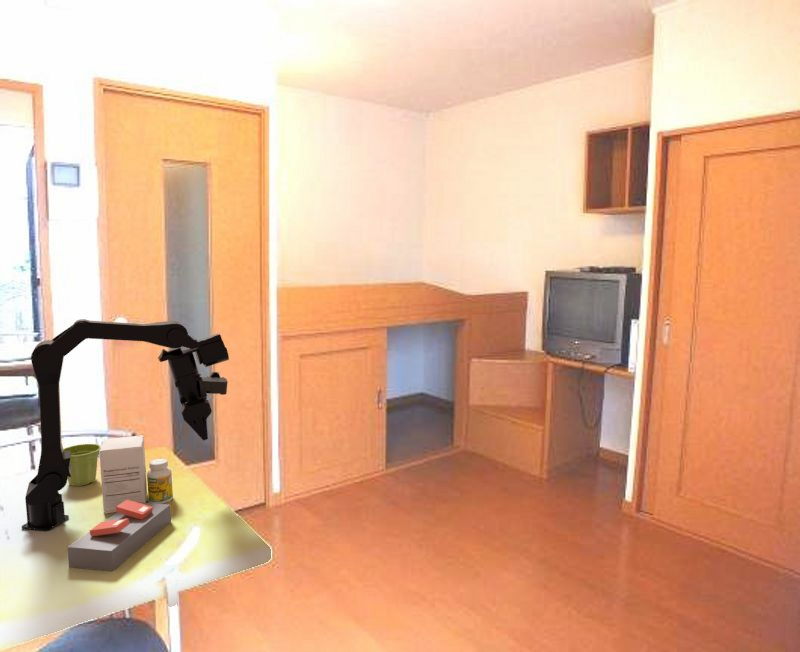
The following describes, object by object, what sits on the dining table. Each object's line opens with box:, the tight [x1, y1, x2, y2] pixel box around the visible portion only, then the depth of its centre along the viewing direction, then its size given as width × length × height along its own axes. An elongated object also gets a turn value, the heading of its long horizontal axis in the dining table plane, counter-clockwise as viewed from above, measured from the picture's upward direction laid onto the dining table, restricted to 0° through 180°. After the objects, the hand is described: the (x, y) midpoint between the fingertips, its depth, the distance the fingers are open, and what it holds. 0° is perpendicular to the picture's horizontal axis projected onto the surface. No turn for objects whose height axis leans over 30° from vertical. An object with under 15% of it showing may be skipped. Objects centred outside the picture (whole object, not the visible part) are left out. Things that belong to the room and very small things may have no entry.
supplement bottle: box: [146, 458, 174, 504], centre depth 138 cm, size 5×5×10 cm
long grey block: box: [67, 502, 172, 572], centre depth 120 cm, size 9×24×4 cm, turn 171°
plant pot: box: [63, 443, 102, 487], centre depth 148 cm, size 9×9×9 cm
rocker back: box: [115, 499, 153, 520], centre depth 121 cm, size 6×4×1 cm, turn 81°
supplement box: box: [99, 434, 148, 515], centre depth 135 cm, size 9×9×15 cm
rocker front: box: [88, 518, 130, 536], centre depth 113 cm, size 6×4×1 cm, turn 81°
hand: (204, 433), depth 140 cm, fingers open, 9 cm apart
